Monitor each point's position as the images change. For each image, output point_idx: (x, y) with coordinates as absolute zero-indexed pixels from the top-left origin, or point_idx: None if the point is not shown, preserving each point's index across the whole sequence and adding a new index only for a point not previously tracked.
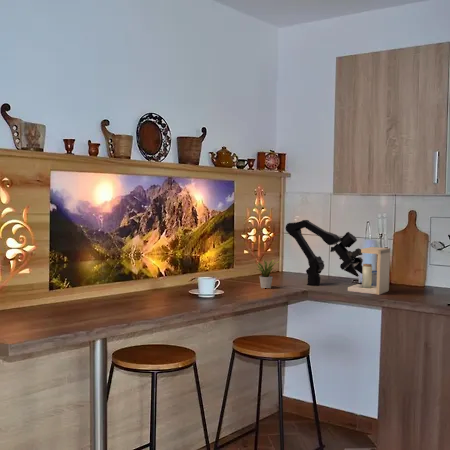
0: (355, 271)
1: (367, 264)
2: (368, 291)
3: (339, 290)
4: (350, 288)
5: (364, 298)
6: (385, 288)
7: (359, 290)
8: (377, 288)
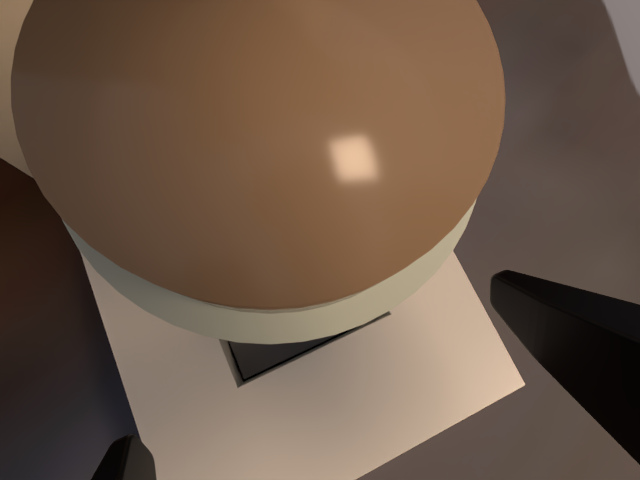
0: (637, 307)
1: (345, 5)
2: None
3: (568, 457)
4: (498, 347)
5: (596, 12)
6: None
7: None
8: None
